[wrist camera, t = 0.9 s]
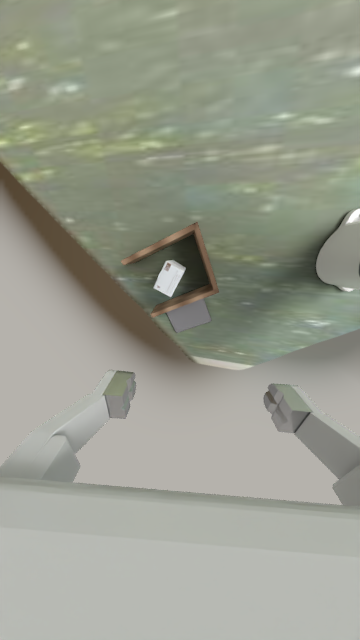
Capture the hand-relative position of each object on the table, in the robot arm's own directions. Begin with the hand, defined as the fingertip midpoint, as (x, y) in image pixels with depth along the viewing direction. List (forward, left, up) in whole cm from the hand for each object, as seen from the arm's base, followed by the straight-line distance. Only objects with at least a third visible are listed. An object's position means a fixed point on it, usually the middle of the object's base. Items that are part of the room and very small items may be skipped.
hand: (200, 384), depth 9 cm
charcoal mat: (+5, +10, -34) cm, 36 cm away
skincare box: (+4, -4, -34) cm, 35 cm away
